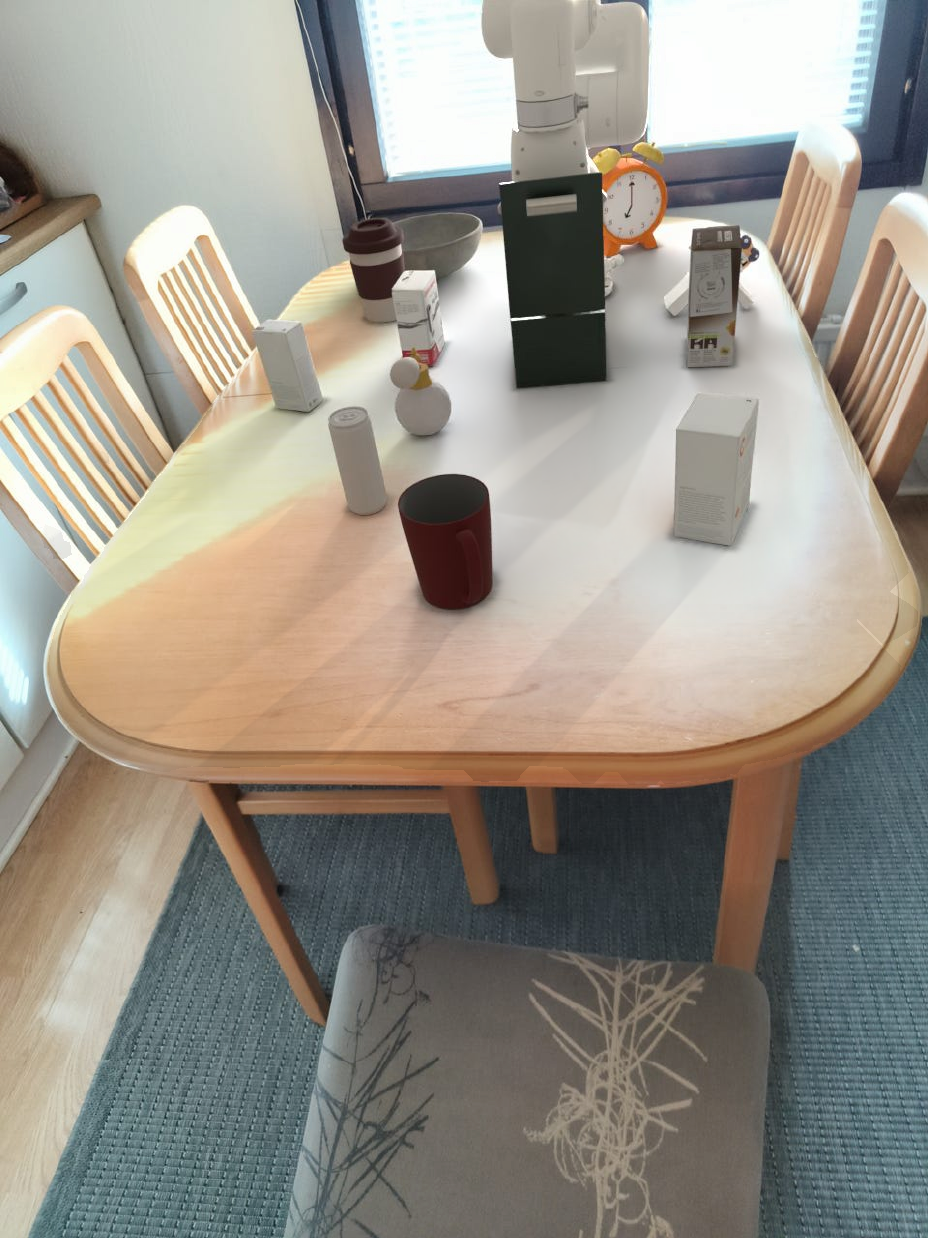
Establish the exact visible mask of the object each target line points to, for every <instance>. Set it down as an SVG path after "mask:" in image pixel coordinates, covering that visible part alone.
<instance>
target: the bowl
mask: <svg viewBox="0 0 928 1238" xmlns="http://www.w3.org/2000/svg"><path fill="white" fill-rule="evenodd" d="M392 224H393V225H394V226H398V227H400V228H401V229H402V230H403V236H404V241H403V242H402V243H401V250H402V252H403V257H404V268H405V271H430V270H435V276H436V280H437V279H440V278H443V277H446V276H448V275H451V274H452V273H454V272H456V271H458V270H460V269H461V268H462V267H464V266H465V265H466V264H467V263H468V262H469V261H470V260H472V258H473V257H474V255H475V254H476V252H477V251H478V249H479V246H480V242H481V240H482V235H483V230H484V229H483V226H484V225H483V221H482V220H481V219H480V218H479V217H478V216H476V215H473V214H470V213H466V212H465V213H464V212H437V213H429V214H422V215H417V216H416V215H415V216H411V217H407V218H403V219H400V220H397V221H394V222H392Z"/></svg>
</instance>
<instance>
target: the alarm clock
mask: <svg viewBox="0 0 928 1238" xmlns="http://www.w3.org/2000/svg"><path fill="white" fill-rule="evenodd" d="M645 137H646V136H645V133H644V134H643V142H642V141H641V142H638V143H637V144H635V146H634V147H633V148H632V149H631V150H632V151H633V152H635V153H637V154H638V155H641V156H643V157H644V160H643V162H642V161H641V160H639V159H636V158H633V153H632V152H628V153H622V154H621V153H620V152H619V151H618V150H617V149H615V148H610V146H607V148H606V149H603V150H602V151H599V152H597V155H596V156H594V157H593V159H591V160H592V162H593V163H594V164H595V166H596V168H597V170H598V172H602V188H603V191H604V192H605V193H606V196H607V201H606V202H605V203H604V204H603V231H604V255H605V256H606V257H607V258H610V257H613V256H615V255H617V254H619V251H620V249H621V247H622V246H631V245H635V244H638V243H639V244H640V245H642V246H643V247H644V248H646V250H650V249H654V248H658V247H659V245H658V243H657V241H656V238H655V236H654V232H655V231H656V230H657V229H658V227H659V226H660V225H661V224H662V222H663V219H664V216H665V214H666V213H667V206H668V201H669V200H668V198H669V197H668V189H667V185H666V183H665V181H664V178H663V177H662V175H661V174H660V173H659V172H658V171H657V170H656V169H655V168H653V167H651V165H648V164H647V162H648V160H651V161H653V162H655V163H657V164H660V165H663V163H664V153H663V152H662V150H660V149H659V148H657V147H655V145H656V142H655V141H652V142H651V143H650V142H648V141H646V138H645Z"/></svg>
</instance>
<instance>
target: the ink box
mask: <svg viewBox="0 0 928 1238" xmlns="http://www.w3.org/2000/svg"><path fill="white" fill-rule="evenodd" d="M392 290H393V291H392V297H393V303H394V308H395V314H396V320H395V321H396V326H397V331H398V337H399V343H400V344H399V345H400V349H401V354H402V358H404V357H411V355H412V353H411V351H412V347H415V349H416V351H417V354H419V356H420V360H419V363H423V364H426V365H427V366H428V367H433V366H435V363H436V362H437V360H438V358H439V355H440V353H442V350H443V349H444V346H445V344H446V341H445V334H444V327H443V319H442V314H441V313H442V312H441V306H440V299H439V292H438V284H437V279H436V276H435V270H430V271H404V272H403V274H402V275H401V276H400V278H399V279H398V281H397V282H396V284H395V285H394V287H393V288H392Z"/></svg>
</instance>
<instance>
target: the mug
mask: <svg viewBox="0 0 928 1238" xmlns="http://www.w3.org/2000/svg"><path fill="white" fill-rule="evenodd" d="M397 507H398V513H399V518H400V521H401V526H402V529H403V533H404V536H405V540H406V543H407V547H408V550H409V553H410V558H411V561H412V564H413V567H414V570H415V573H416V576H417V579H418V583H419V586H420V590H421V593H422V595H423V598H424V599H425V601H426V602H427V603H428V604H430V605H432V606H433V607H435V608H439V609H444V610H461V609H467V608H470V607H472V606H475V605H477V604H479V603H480V602H482V601H483V600H484V599H486V598H487V597H488V596H489V594H490V593H491V592H492V589H493V582H494V581H493V537H492V534H493V533H492V532H493V531H492V509H491V499H490V492H489V488H488V486H487V485H486V484H485V483H484V482H483V481H482V480H481V479H478V478H476V477H474V476H472V475H468V474H467V475H466V474H462V473H443V474H437V475H432V476H428V477H425V478H423V479H420V480H418V481H416V482H414V483H413V484H411V485H410V486H408V487H407V488H405V490H404V491H403V492H402V493H401V495H400V496H399V498H398V502H397Z"/></svg>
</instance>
